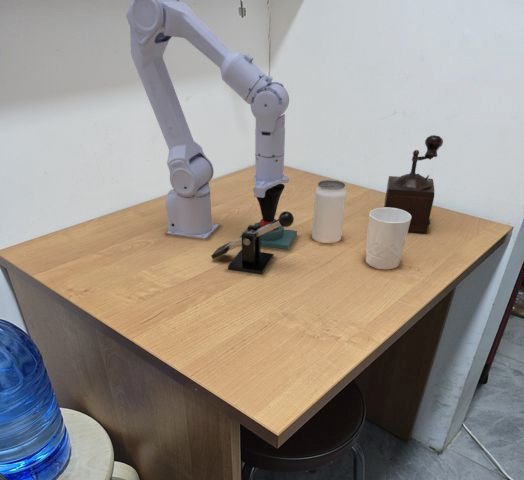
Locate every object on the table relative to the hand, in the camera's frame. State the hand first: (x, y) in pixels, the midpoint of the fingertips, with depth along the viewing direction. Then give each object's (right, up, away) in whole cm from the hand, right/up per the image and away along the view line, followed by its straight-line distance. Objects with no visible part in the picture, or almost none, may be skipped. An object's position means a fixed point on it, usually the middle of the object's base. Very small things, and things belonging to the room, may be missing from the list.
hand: (268, 220), depth 104 cm
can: (+13, -3, +4) cm, 14 cm away
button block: (0, -4, +3) cm, 5 cm away
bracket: (-3, -11, -6) cm, 13 cm away
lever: (-3, -7, -10) cm, 12 cm away
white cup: (+23, -10, -5) cm, 26 cm away
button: (0, -2, +1) cm, 2 cm away
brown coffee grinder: (+33, +4, +14) cm, 36 cm away
